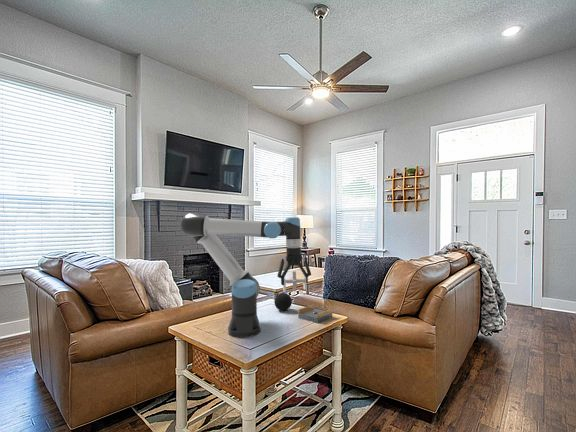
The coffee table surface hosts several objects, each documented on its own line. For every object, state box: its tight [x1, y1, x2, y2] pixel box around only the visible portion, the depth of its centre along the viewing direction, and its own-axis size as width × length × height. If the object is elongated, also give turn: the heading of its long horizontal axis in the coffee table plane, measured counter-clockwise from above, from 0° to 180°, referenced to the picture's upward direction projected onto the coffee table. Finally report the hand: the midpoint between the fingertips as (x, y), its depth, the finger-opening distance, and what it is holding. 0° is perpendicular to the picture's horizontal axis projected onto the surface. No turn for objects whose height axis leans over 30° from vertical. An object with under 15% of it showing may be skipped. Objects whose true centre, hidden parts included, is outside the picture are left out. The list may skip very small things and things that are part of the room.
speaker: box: [273, 292, 293, 312], centre depth 182 cm, size 10×10×10 cm
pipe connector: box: [286, 270, 304, 292], centre depth 163 cm, size 10×10×10 cm
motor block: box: [297, 304, 333, 324], centre depth 169 cm, size 13×13×4 cm
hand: (294, 290), depth 163 cm, fingers closed on pipe connector, 10 cm apart
